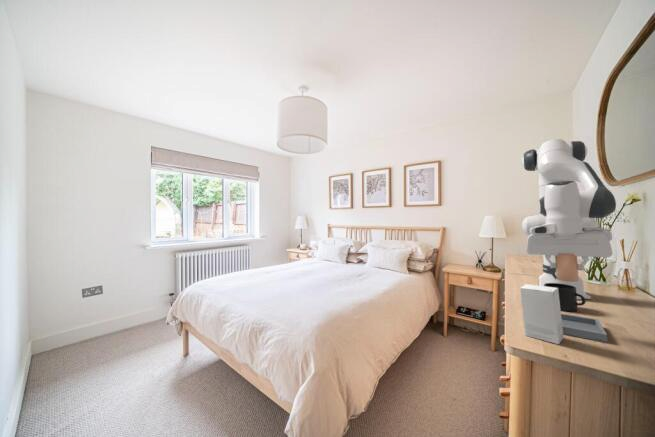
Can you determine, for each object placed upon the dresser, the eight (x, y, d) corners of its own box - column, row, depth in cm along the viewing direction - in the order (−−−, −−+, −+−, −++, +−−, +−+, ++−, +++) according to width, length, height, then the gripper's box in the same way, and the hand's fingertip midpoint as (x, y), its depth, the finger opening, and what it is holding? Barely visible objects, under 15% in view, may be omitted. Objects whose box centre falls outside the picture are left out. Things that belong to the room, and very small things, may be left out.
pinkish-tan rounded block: (556, 277, 83) (554, 251, 83) (577, 279, 79) (575, 252, 79) (557, 280, 79) (555, 253, 79) (579, 282, 75) (577, 254, 76)
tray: (542, 317, 88) (541, 310, 88) (598, 326, 79) (598, 319, 79) (542, 330, 78) (542, 322, 78) (607, 343, 69) (607, 334, 69)
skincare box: (564, 338, 72) (560, 287, 73) (558, 345, 68) (555, 291, 69) (529, 329, 79) (526, 283, 79) (522, 335, 75) (519, 286, 76)
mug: (581, 315, 88) (579, 291, 88) (541, 306, 99) (539, 285, 99) (591, 310, 92) (589, 287, 93) (551, 302, 103) (549, 281, 103)
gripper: (608, 227, 75) (612, 270, 75) (525, 228, 89) (527, 265, 88) (613, 227, 70) (617, 274, 70) (524, 229, 84) (527, 267, 84)
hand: (566, 269), depth 79 cm, fingers closed on pinkish-tan rounded block, 5 cm apart
